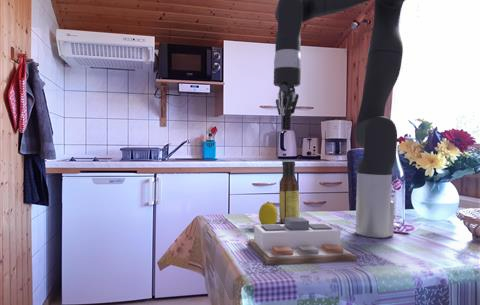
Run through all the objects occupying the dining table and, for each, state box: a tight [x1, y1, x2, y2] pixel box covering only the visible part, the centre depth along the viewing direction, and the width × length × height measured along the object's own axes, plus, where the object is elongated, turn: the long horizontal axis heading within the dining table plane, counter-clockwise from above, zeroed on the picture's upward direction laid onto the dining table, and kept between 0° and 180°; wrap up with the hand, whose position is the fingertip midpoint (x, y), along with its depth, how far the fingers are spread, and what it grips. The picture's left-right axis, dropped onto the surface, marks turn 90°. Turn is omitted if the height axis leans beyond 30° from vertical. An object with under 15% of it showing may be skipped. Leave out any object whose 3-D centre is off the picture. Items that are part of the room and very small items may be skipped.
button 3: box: [260, 224, 285, 231], centre depth 82 cm, size 4×4×4 cm
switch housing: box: [253, 222, 342, 251], centre depth 83 cm, size 19×8×4 cm, turn 102°
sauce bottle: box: [278, 160, 300, 224], centre depth 112 cm, size 7×6×20 cm
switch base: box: [248, 238, 358, 266], centre depth 81 cm, size 20×16×2 cm
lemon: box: [258, 201, 278, 225], centre depth 103 cm, size 6×6×8 cm
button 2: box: [284, 216, 310, 230], centre depth 83 cm, size 4×4×4 cm
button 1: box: [309, 223, 332, 230], centre depth 84 cm, size 4×4×4 cm
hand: (285, 130), depth 99 cm, fingers closed
